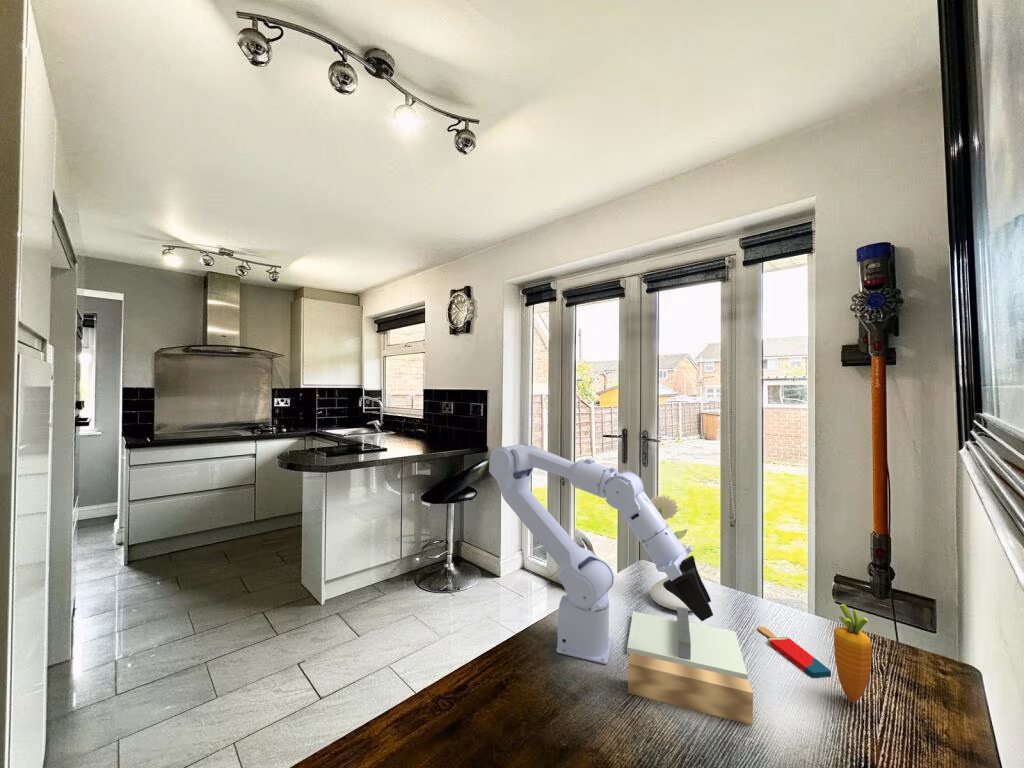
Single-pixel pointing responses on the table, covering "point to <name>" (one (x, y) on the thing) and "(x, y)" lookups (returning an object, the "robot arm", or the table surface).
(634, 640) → the balance stand
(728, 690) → the wooden block
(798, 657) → the popsicle
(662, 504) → the flower in vase
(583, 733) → the table surface
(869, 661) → the carrot
